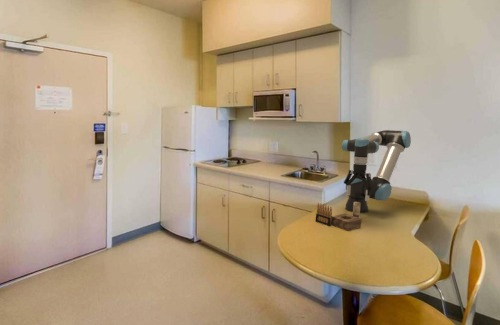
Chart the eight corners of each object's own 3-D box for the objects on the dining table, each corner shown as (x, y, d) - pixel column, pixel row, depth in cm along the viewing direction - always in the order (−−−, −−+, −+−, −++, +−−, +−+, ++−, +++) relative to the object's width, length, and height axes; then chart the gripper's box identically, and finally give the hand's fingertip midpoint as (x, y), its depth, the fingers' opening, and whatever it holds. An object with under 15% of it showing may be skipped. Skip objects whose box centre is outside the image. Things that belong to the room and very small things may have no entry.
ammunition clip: (315, 221, 176) (316, 202, 174) (317, 220, 177) (318, 202, 175) (330, 226, 168) (331, 206, 166) (332, 225, 169) (333, 206, 167)
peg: (350, 220, 178) (352, 202, 176) (355, 219, 180) (356, 201, 178) (356, 222, 174) (357, 204, 173) (360, 221, 177) (362, 203, 175)
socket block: (330, 224, 171) (331, 216, 170) (344, 221, 177) (344, 213, 177) (347, 230, 161) (347, 222, 160) (360, 227, 167) (361, 218, 167)
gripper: (339, 161, 181) (337, 194, 183) (375, 166, 160) (371, 203, 163) (347, 161, 185) (344, 192, 187) (382, 166, 164) (379, 202, 167)
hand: (357, 197), depth 175 cm, fingers open, 13 cm apart
